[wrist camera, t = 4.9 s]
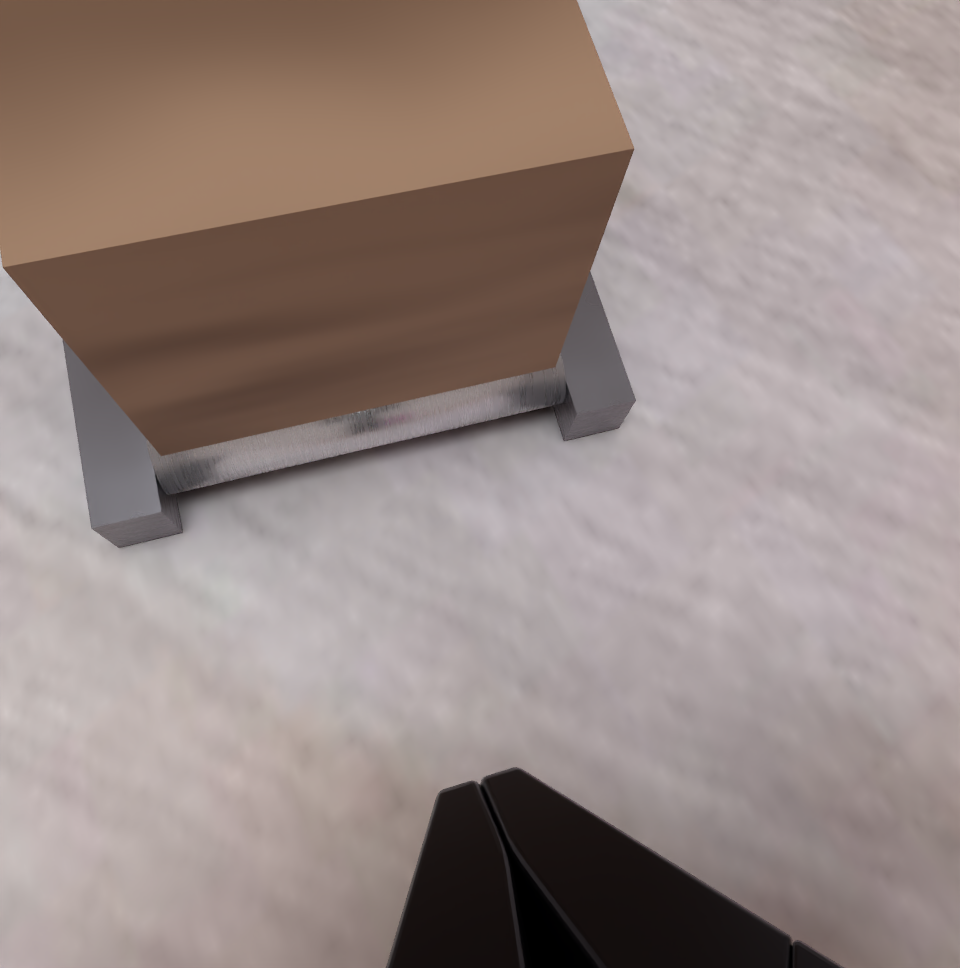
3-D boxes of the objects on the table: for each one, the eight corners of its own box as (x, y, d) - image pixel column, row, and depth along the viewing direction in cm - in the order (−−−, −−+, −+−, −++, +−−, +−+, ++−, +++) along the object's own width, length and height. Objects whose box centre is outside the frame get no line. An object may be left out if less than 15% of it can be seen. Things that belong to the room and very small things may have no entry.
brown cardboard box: (554, 367, 20) (634, 148, 13) (161, 456, 18) (2, 267, 11) (464, 92, 22) (488, -226, 15) (106, 154, 21) (-55, -163, 14)
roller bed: (618, 427, 22) (689, 314, 17) (118, 547, 20) (3, 465, 15) (440, -90, 27) (447, -314, 22) (25, -32, 25) (-88, -261, 20)
